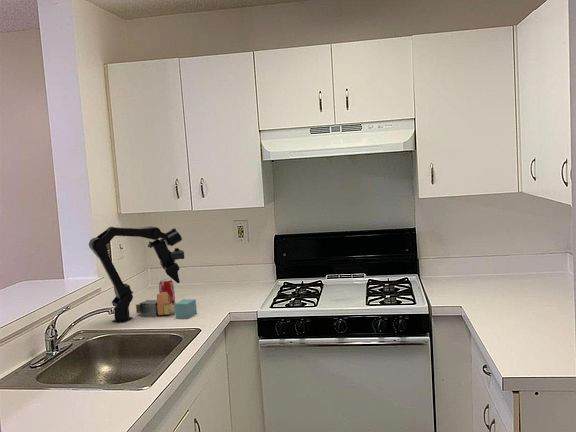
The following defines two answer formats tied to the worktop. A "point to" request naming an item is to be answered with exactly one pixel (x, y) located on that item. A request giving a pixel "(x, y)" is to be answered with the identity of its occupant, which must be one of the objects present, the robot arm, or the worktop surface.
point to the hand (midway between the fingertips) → (177, 280)
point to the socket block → (185, 308)
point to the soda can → (167, 289)
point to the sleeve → (149, 308)
